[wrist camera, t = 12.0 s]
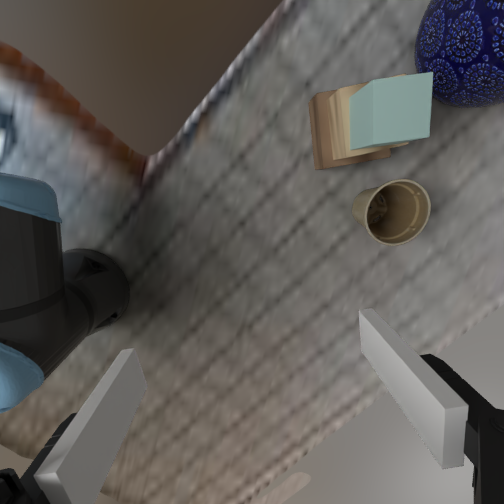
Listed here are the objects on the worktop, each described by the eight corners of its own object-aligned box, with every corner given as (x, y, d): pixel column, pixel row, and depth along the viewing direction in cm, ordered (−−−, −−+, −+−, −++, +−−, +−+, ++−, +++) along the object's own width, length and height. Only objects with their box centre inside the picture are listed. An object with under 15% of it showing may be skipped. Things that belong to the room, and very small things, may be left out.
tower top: (333, 160, 38) (346, 157, 33) (326, 100, 36) (339, 88, 31) (387, 148, 38) (408, 144, 33) (383, 87, 36) (405, 73, 31)
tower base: (314, 169, 43) (323, 168, 39) (308, 103, 41) (316, 93, 36) (374, 159, 43) (390, 157, 38) (371, 91, 40) (389, 80, 36)
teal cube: (350, 150, 33) (372, 144, 27) (349, 97, 32) (373, 79, 26) (396, 144, 33) (429, 137, 27) (398, 91, 32) (433, 71, 26)
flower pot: (363, 167, 43) (392, 165, 35) (407, 195, 45) (444, 200, 36) (331, 217, 45) (351, 226, 37) (375, 242, 47) (403, 256, 39)
